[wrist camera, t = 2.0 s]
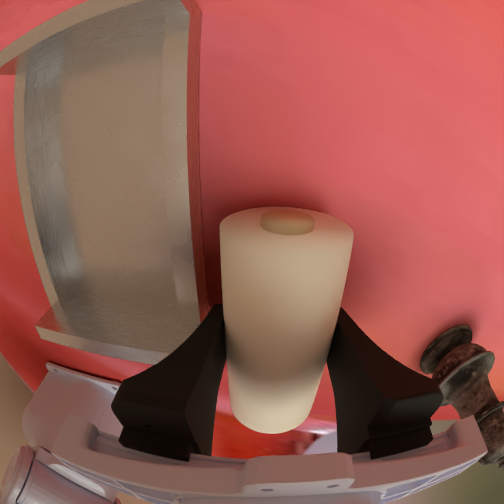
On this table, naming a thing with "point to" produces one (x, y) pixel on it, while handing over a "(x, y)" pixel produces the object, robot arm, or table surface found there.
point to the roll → (280, 309)
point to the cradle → (113, 173)
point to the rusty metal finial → (468, 385)
